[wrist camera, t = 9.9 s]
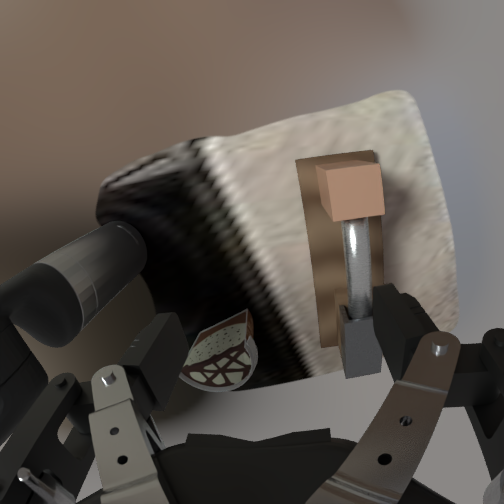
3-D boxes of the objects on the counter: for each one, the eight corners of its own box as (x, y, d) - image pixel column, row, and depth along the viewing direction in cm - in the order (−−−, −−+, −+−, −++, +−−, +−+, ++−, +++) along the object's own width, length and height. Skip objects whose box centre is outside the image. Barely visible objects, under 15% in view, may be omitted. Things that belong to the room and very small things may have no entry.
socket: (362, 198, 35) (385, 214, 27) (321, 204, 36) (333, 221, 28) (357, 159, 34) (379, 163, 25) (315, 165, 35) (325, 170, 26)
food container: (214, 361, 48) (201, 403, 38) (192, 335, 46) (174, 375, 37) (277, 333, 45) (275, 377, 35) (256, 304, 43) (248, 345, 34)
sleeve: (373, 353, 38) (380, 372, 34) (341, 358, 38) (345, 378, 34) (375, 299, 35) (384, 316, 31) (338, 305, 36) (344, 323, 32)
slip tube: (369, 318, 35) (374, 331, 33) (347, 322, 36) (351, 335, 33) (360, 186, 30) (368, 189, 27) (334, 189, 31) (339, 193, 28)
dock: (380, 332, 43) (390, 354, 38) (320, 343, 44) (324, 366, 39) (370, 150, 34) (384, 150, 29) (295, 159, 36) (297, 161, 30)
